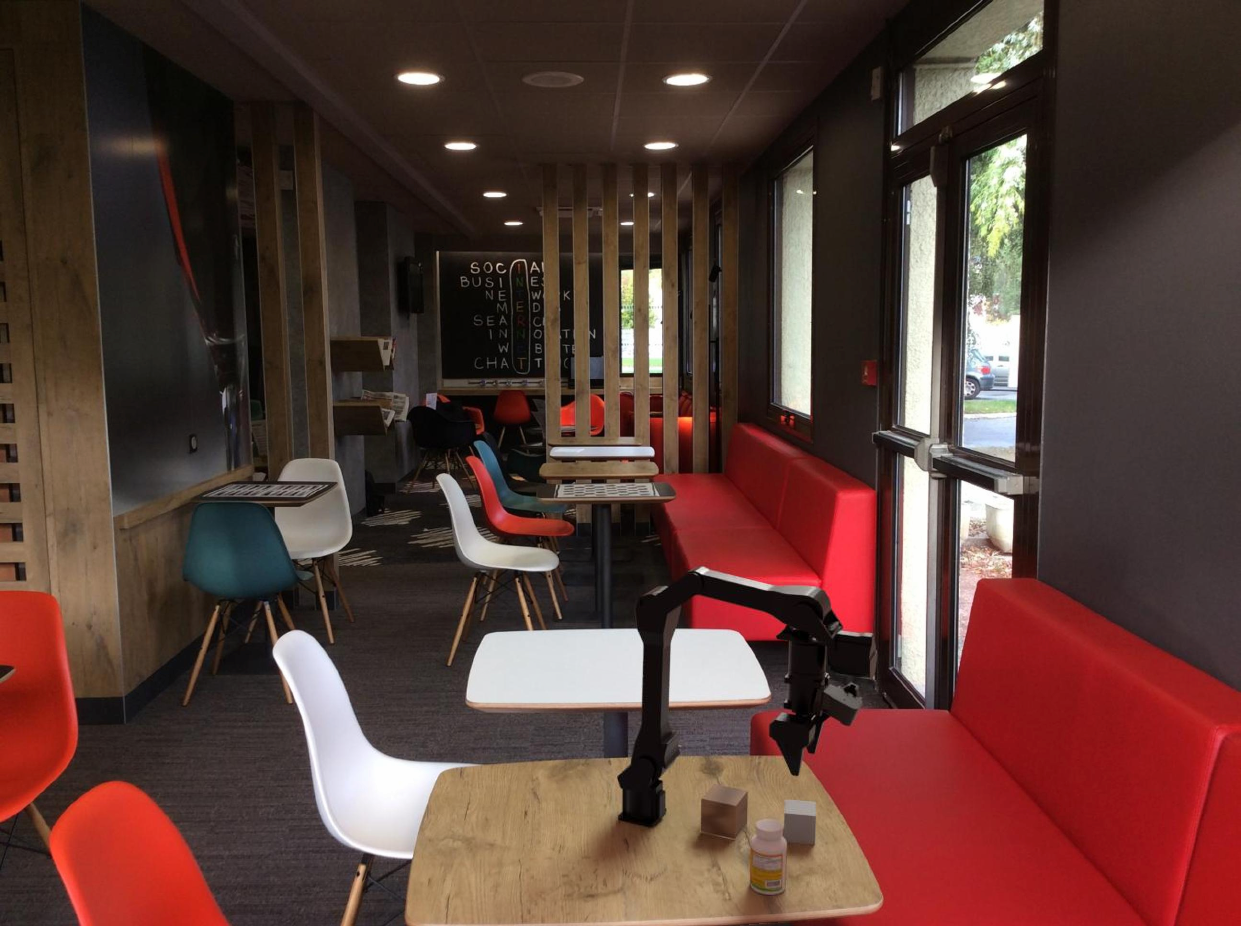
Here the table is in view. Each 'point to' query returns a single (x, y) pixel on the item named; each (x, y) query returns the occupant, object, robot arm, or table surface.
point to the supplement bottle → (768, 858)
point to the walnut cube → (724, 811)
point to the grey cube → (800, 821)
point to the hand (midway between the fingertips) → (803, 763)
